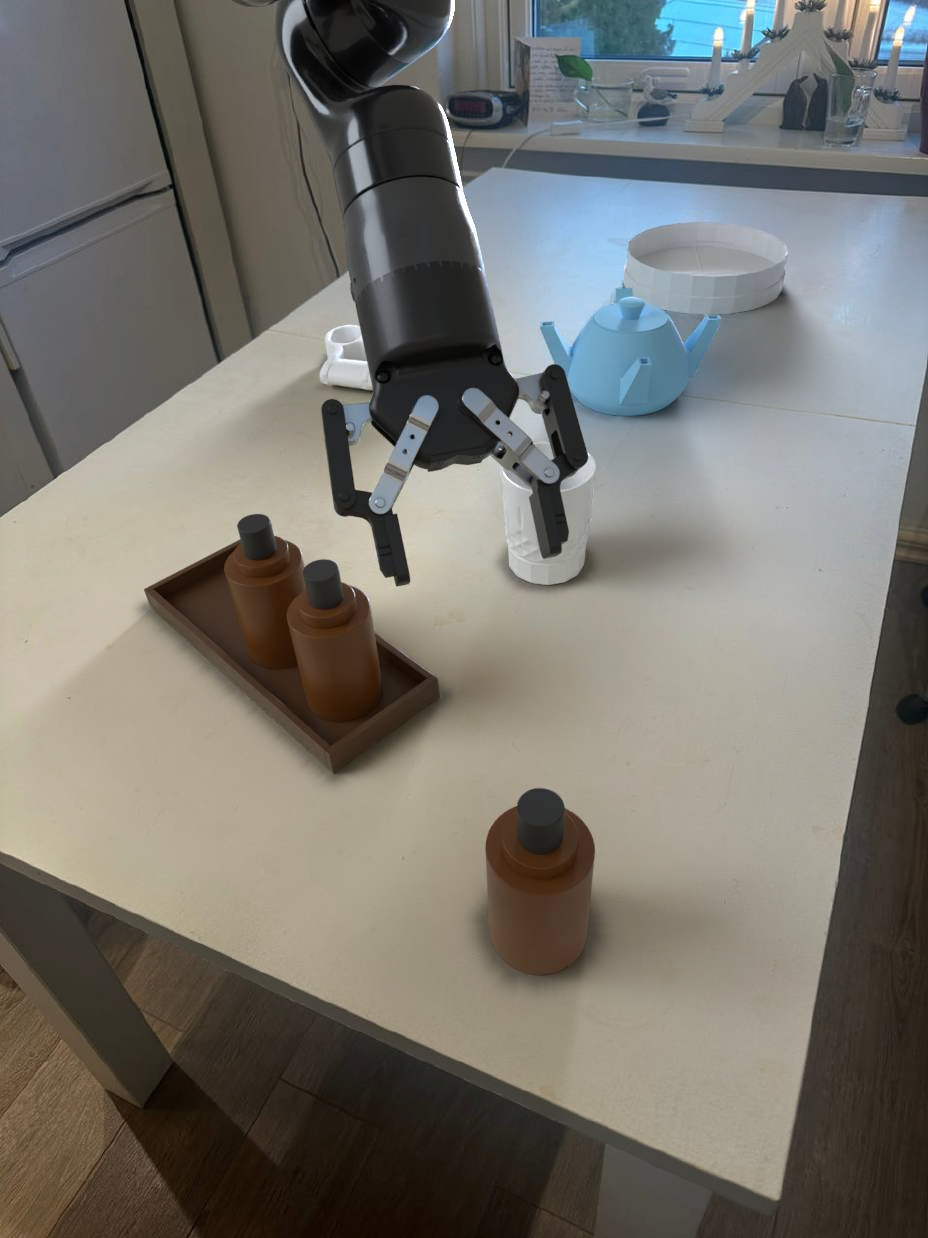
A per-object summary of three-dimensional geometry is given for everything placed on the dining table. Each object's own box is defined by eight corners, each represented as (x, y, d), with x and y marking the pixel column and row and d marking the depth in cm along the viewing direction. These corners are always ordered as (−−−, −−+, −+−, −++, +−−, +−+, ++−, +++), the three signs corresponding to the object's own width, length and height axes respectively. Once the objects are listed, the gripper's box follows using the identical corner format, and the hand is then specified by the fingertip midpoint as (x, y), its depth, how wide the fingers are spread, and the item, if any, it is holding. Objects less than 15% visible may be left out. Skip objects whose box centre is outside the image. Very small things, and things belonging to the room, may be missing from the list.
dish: (768, 254, 132) (774, 220, 128) (796, 314, 115) (804, 275, 112) (619, 256, 134) (622, 222, 131) (626, 315, 118) (629, 277, 114)
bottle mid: (257, 678, 68) (222, 556, 60) (240, 633, 72) (205, 513, 64) (328, 655, 70) (303, 532, 62) (308, 612, 74) (282, 492, 66)
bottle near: (319, 732, 63) (290, 608, 55) (297, 681, 67) (267, 558, 60) (394, 706, 65) (376, 581, 57) (368, 658, 69) (348, 535, 61)
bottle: (516, 992, 49) (514, 874, 41) (473, 907, 53) (464, 785, 45) (605, 950, 51) (621, 829, 43) (557, 871, 55) (563, 746, 47)
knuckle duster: (298, 388, 106) (350, 338, 116) (436, 406, 101) (477, 353, 111) (293, 362, 104) (346, 313, 114) (434, 379, 99) (477, 327, 109)
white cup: (484, 567, 78) (480, 471, 71) (536, 526, 82) (537, 432, 76) (556, 602, 74) (560, 503, 67) (607, 556, 78) (615, 459, 72)
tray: (150, 607, 76) (143, 589, 75) (248, 555, 81) (244, 536, 80) (333, 774, 61) (329, 755, 60) (440, 697, 66) (438, 678, 65)
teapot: (720, 389, 101) (735, 297, 94) (639, 439, 93) (649, 342, 86) (615, 352, 109) (622, 264, 102) (534, 394, 102) (534, 303, 95)
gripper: (289, 275, 44) (352, 587, 44) (557, 238, 46) (621, 535, 46) (297, 334, 52) (351, 601, 51) (527, 300, 54) (583, 556, 53)
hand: (479, 569), depth 48 cm, fingers open, 8 cm apart
